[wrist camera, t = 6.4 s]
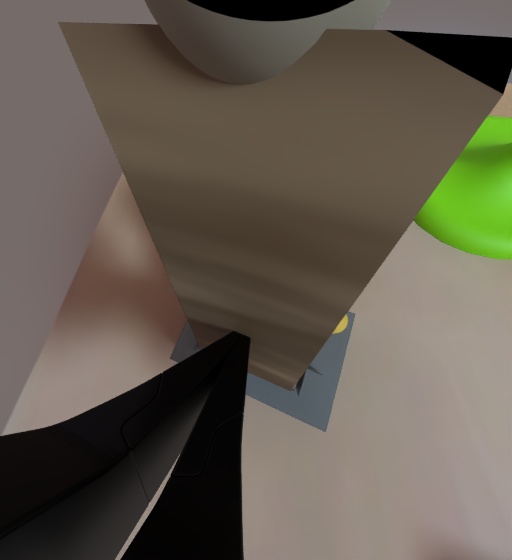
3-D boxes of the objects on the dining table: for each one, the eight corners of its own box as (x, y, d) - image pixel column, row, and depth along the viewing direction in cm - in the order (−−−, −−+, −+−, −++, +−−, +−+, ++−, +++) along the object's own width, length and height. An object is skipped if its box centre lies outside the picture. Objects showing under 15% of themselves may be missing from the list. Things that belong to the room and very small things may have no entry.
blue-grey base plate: (318, 417, 15) (334, 452, 10) (185, 356, 18) (150, 361, 13) (345, 317, 17) (368, 308, 12) (220, 275, 20) (201, 255, 15)
